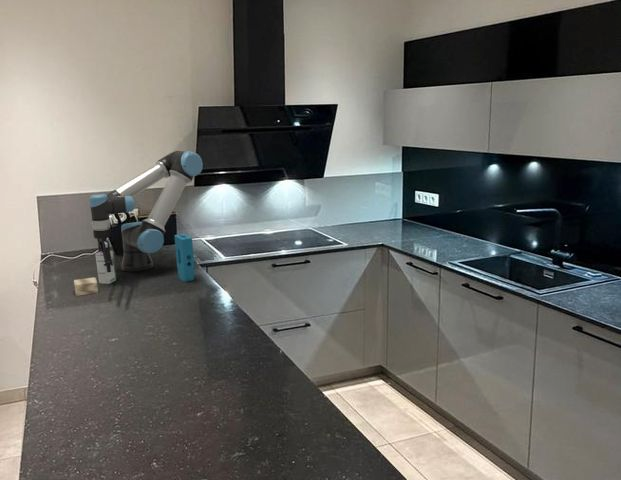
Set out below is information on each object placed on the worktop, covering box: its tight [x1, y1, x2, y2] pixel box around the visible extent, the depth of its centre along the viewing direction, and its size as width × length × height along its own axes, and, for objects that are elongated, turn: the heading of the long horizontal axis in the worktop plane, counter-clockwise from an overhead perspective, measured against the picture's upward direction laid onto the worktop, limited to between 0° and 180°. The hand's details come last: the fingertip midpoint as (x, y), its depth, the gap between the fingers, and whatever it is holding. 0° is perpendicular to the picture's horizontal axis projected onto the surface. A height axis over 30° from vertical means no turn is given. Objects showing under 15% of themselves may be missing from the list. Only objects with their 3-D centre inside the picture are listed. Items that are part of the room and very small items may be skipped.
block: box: [174, 233, 195, 283], centre depth 266 cm, size 12×5×20 cm, turn 30°
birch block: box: [73, 276, 99, 297], centre depth 253 cm, size 9×9×5 cm
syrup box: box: [94, 249, 117, 285], centre depth 266 cm, size 6×6×14 cm
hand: (106, 276), depth 266 cm, fingers open, 10 cm apart
